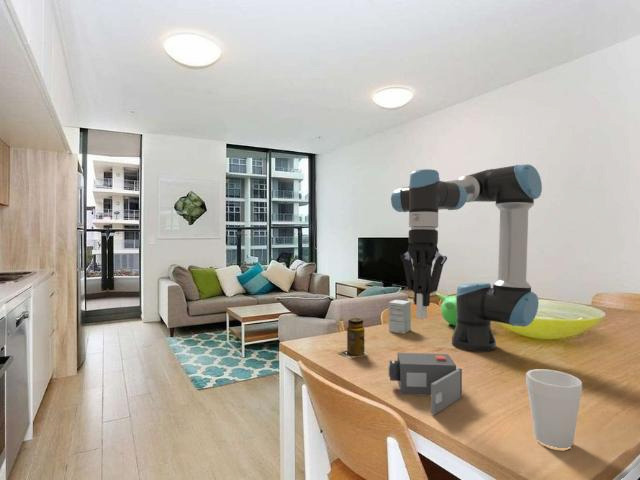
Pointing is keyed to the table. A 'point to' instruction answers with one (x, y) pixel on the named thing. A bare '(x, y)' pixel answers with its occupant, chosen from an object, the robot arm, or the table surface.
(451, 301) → the toy bird
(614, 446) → the table surface
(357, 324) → the condiment
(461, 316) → the robot arm
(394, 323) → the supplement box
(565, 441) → the foam cup
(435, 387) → the side door
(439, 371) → the camera box
